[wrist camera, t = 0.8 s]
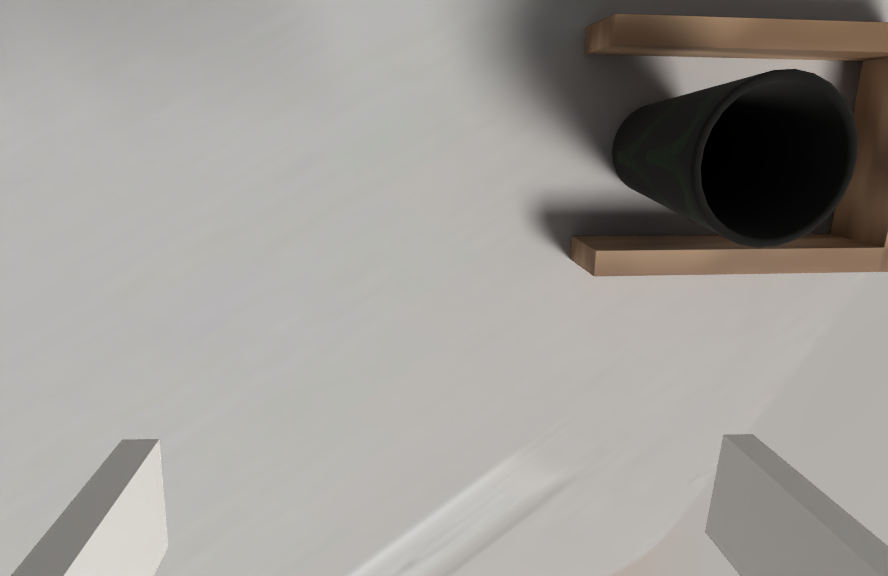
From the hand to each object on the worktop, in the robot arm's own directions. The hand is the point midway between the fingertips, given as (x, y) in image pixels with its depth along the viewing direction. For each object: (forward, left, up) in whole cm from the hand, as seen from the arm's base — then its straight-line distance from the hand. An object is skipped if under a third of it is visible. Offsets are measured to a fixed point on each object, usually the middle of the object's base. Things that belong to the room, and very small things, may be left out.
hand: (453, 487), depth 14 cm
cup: (-7, +16, -25) cm, 30 cm away
